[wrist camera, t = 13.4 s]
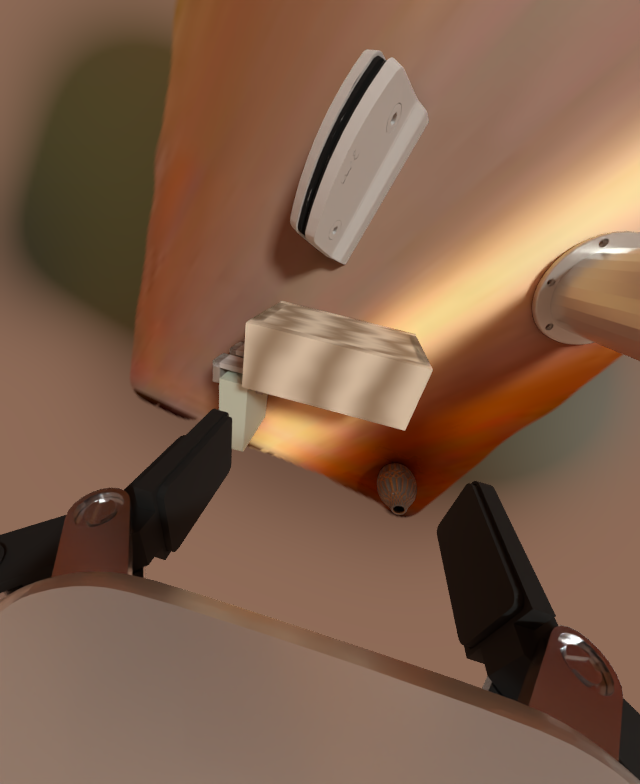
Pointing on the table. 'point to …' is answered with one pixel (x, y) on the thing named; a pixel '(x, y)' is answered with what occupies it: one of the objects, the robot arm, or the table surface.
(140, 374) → the table surface
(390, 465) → the vase
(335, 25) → the table surface
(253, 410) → the pale white box
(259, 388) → the cabinet
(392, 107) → the white electronic device
